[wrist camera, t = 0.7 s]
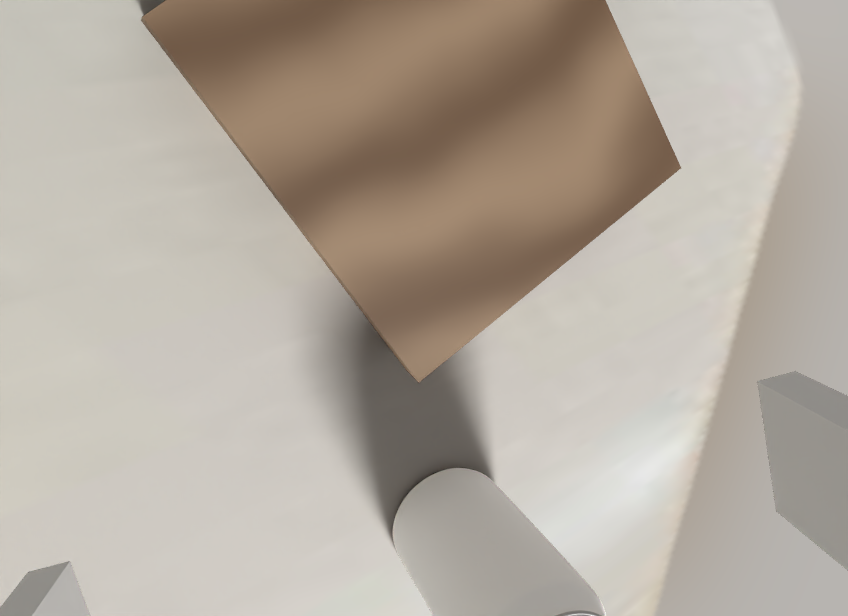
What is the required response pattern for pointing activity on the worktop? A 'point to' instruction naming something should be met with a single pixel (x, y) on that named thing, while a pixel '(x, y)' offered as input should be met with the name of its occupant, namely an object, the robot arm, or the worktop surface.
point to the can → (483, 553)
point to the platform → (429, 142)
